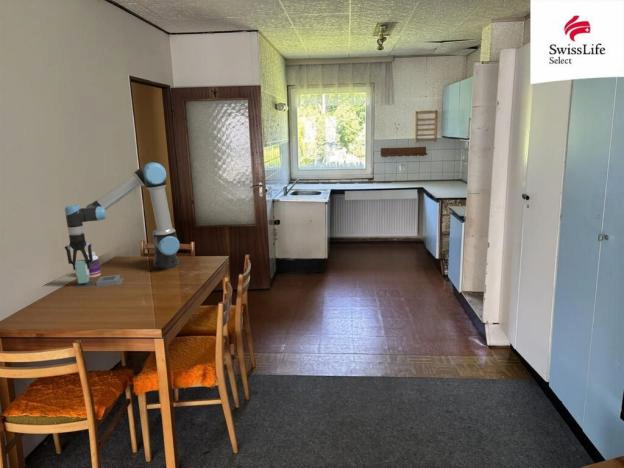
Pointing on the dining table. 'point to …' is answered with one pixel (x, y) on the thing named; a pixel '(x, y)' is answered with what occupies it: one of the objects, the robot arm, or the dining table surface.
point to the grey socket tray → (108, 281)
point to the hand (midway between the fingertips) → (82, 274)
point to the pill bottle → (94, 266)
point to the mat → (84, 284)
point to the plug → (81, 271)
